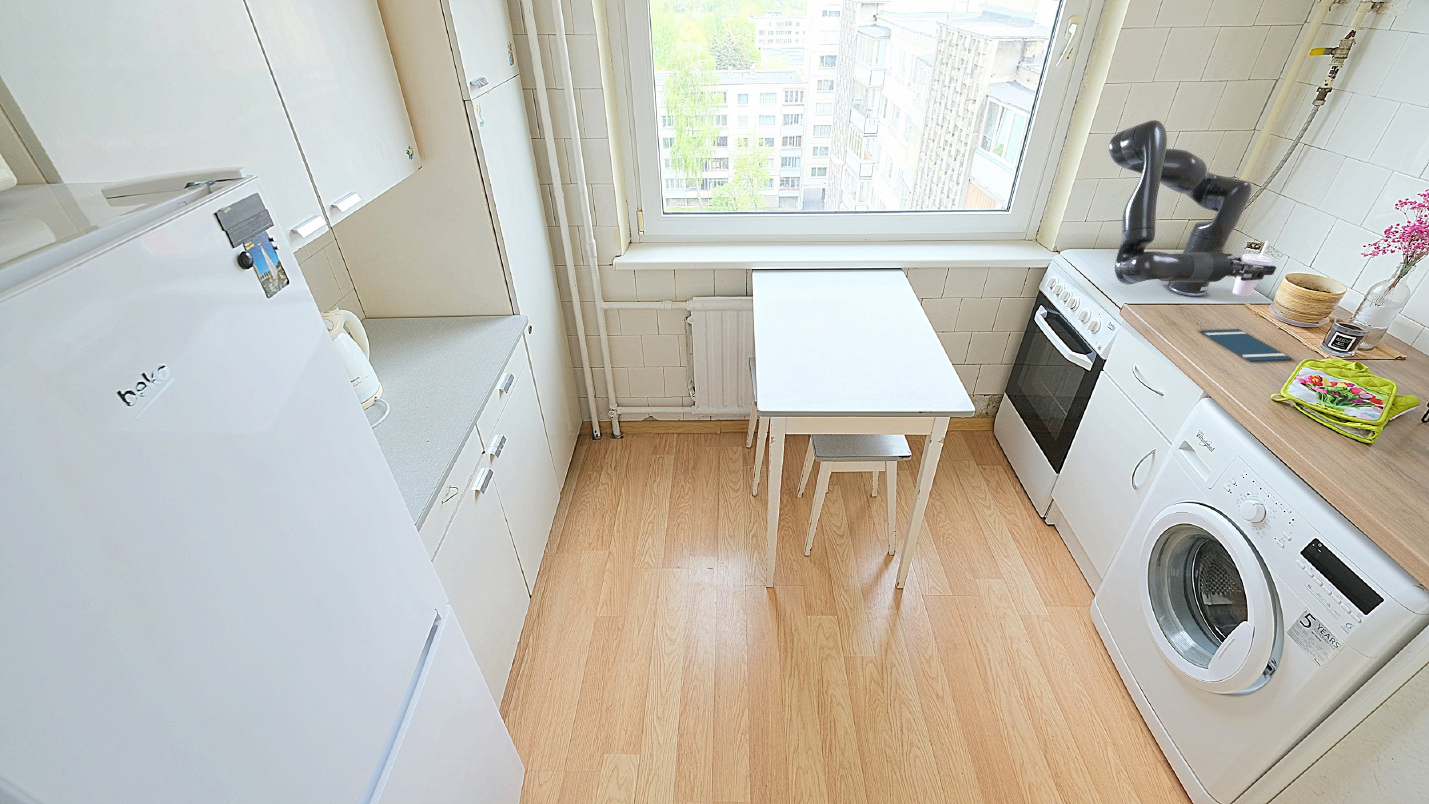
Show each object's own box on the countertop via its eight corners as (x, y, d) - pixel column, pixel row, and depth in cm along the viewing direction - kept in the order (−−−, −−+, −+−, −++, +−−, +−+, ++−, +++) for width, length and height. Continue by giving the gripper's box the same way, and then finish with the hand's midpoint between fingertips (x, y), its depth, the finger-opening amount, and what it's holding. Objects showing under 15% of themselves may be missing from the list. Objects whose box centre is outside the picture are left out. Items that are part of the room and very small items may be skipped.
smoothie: (1261, 299, 162) (1286, 245, 155) (1233, 297, 163) (1257, 243, 156) (1248, 290, 168) (1272, 237, 160) (1221, 288, 169) (1244, 236, 162)
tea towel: (1200, 331, 170) (1201, 330, 169) (1237, 330, 170) (1238, 329, 170) (1250, 361, 155) (1251, 360, 155) (1291, 359, 156) (1292, 358, 155)
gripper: (1227, 262, 153) (1294, 261, 154) (1186, 243, 165) (1247, 242, 166) (1214, 291, 157) (1279, 290, 157) (1175, 271, 169) (1235, 270, 170)
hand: (1263, 265), depth 162 cm, fingers closed on smoothie, 6 cm apart
